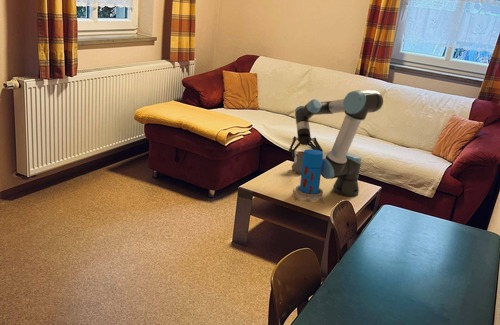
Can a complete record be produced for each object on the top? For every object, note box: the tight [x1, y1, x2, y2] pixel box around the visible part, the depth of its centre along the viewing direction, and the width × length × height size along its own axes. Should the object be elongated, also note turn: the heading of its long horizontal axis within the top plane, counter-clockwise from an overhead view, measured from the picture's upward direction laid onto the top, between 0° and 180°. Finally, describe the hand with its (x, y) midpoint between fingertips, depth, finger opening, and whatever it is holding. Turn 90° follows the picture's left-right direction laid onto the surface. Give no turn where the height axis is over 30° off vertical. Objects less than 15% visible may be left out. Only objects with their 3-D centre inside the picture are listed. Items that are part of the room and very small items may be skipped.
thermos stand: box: [293, 184, 325, 204], centre depth 275 cm, size 16×16×4 cm
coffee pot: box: [291, 151, 304, 175], centre depth 307 cm, size 21×12×15 cm, turn 4°
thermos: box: [299, 148, 324, 194], centre depth 272 cm, size 11×11×25 cm
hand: (307, 162), depth 281 cm, fingers open, 13 cm apart
